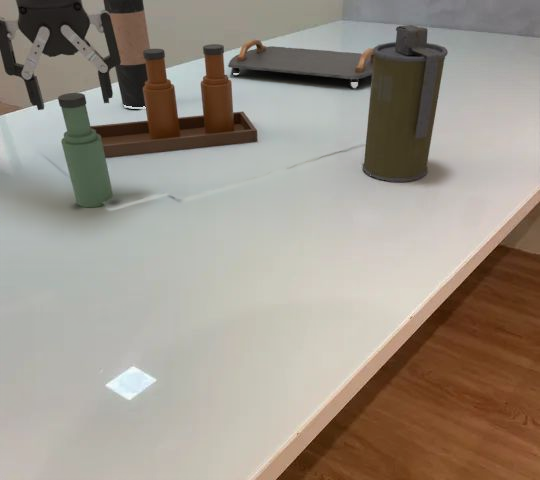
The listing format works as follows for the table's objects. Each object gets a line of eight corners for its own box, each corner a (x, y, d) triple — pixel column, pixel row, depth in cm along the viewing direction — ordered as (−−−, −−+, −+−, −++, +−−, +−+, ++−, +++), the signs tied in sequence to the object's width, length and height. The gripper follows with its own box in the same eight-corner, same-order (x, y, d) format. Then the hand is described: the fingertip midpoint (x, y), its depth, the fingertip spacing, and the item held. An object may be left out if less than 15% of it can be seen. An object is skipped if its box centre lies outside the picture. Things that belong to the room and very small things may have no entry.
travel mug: (126, 112, 117) (106, -1, 104) (118, 103, 122) (98, -6, 109) (162, 107, 119) (146, -4, 106) (152, 98, 124) (137, -9, 111)
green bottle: (85, 210, 81) (58, 104, 71) (71, 198, 84) (44, 95, 75) (119, 201, 83) (98, 97, 74) (104, 189, 86) (82, 88, 77)
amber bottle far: (215, 141, 100) (207, 51, 91) (199, 133, 104) (191, 46, 94) (240, 135, 103) (235, 46, 93) (224, 127, 106) (218, 41, 97)
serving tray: (217, 76, 138) (215, 48, 134) (258, 56, 154) (258, 31, 150) (367, 92, 125) (369, 61, 121) (396, 68, 140) (399, 41, 136)
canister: (350, 163, 92) (361, 24, 80) (404, 154, 95) (423, 18, 82) (384, 188, 85) (402, 38, 72) (442, 176, 88) (469, 31, 75)
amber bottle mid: (159, 147, 98) (146, 56, 89) (145, 139, 102) (131, 50, 92) (186, 140, 101) (175, 51, 92) (171, 133, 104) (160, 45, 95)
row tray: (76, 164, 95) (73, 149, 93) (77, 142, 103) (74, 127, 102) (257, 145, 100) (257, 130, 99) (244, 125, 109) (243, 111, 107)
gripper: (100, -49, 69) (126, 92, 79) (-22, -43, 66) (21, 102, 76) (102, -45, 63) (129, 107, 73) (-32, -37, 60) (16, 119, 71)
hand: (74, 105), depth 75 cm, fingers open, 8 cm apart
